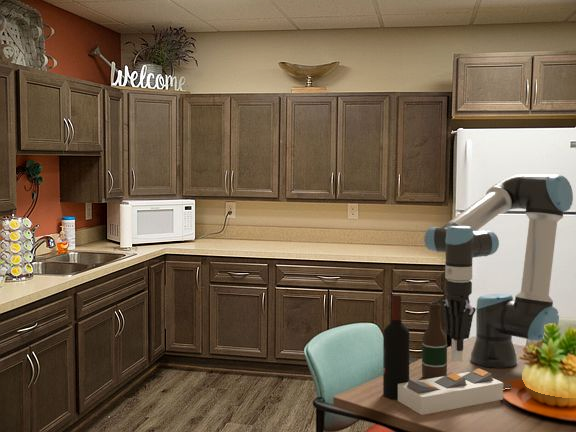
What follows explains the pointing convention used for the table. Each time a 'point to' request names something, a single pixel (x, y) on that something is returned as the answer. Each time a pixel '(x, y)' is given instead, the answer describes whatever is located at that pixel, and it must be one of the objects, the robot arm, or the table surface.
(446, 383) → the rocker
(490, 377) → the rocker
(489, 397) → the power strip
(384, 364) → the wine bottle
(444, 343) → the beer bottle
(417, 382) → the rocker
